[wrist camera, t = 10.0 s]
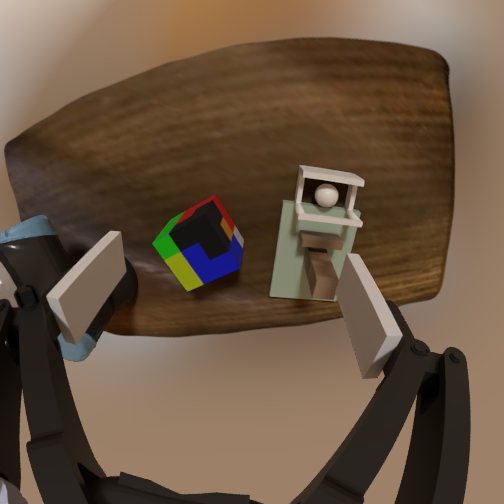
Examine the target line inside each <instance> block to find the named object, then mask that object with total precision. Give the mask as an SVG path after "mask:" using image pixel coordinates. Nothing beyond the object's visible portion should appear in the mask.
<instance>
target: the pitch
mask: <svg viewBox="0 0 504 504" xmlns="http://www.w3.org/2000/svg"><path fill="white" fill-rule="evenodd" d="M305 178H312V179H319V180H326V181H332V182H339V183H345V184H349V186H348V191H347V196H346V201H345V205H344V207H343V208H341V207H334V206H331V207H322V206H320V205H319V204H312V203H304V202H301V199H302V193H303V186H304V180H305ZM364 182H365V181H364V180H363V179H361V178H360V177H359V176H357V175H356V174H353V173H347V172H342V171H336V170H330V169H323V168H317V167H310V166H303V165H299V171H298V178H297V185H296V192H295V199H294V200H293V201H287V200H283V202H282V209H281V216H280V224H279V231H278V238H277V245H276V252H275V258H274V265H273V272H272V278H271V285H270V291H269V296H271V297H283V298H296V299H310V300H325V299H312V296H311V292H310V287H309V283H308V279H307V275H306V271H305V267H304V257H305V252H306V247H303V246H301V242H300V239H299V232H300V230H306V231H315V232H324V233H332V234H338V235H339V237H340V239H341V241H342V242H343V248H342V250H332V249H326V250H327V252H328V255H329V257H330V259H331V262H332V264H333V267H334V269H335V272H336V274H337V276H338V279H339V278H340V275H341V271H342V268H343V264H344V261H345V257H346V253H350V252H351V249H352V245H353V241H354V237H355V234H356V230H357V227H362V225H363V222H362V221H361V220H360V219H359V217H360V212H359V211H358V210H355V209H353V206H354V201H355V197H356V192H357V187H358V186H362V187H364ZM336 299H337V296H336V294H335V297H334V300H326V301H336Z"/></svg>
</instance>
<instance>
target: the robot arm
mask: <svg viewBox="0 0 504 504" xmlns="http://www.w3.org/2000/svg"><path fill="white" fill-rule="evenodd" d="M136 290H137V277H136V274H135V271H134V269H133V267H132V265H131V264H130V263H129V261H128V260H127V259H126V258H125V257H124V252H123V245H122V237H121V232H117V231H110V232H108V233H107V234H106V235H105V236H104V237H103V238H102V239H101V240H100V241H99V242H98V243H97V244H96V245H95V246H93V247H91V248H89V249H88V250H87V251H86V252H85V253H84V254H83V255H82V256H81V257H80V259H79V261H78V262H77V263H76V265H75V266H74V267H73V265H72V263H71V262H70V260H69V258H68V256H67V254H66V252H65V250H64V248H63V246H62V244H61V242H60V240H59V238H58V234H57V232H55V230H54V228H53V226H52V224H51V222H50V220H49V219H48V218H47V217H46V216H44V215H38V216H35V217H32V218H30V219H28V220H26V221H23V222H21V223H19V224H17V225H15V226H13V227H12V228H10V229H9V230H6V231H5V232H2V233H1V234H0V504H28V502H27V501H26V499H25V498H23V497H22V494H21V493H20V483H21V482H20V481H21V468H20V444H19V443H20V442H19V433H20V408H21V395H22V389H23V396H24V403H25V409H26V415H27V421H28V425H29V430H30V435H31V441H29V442H27V445H26V447H27V453H28V457H29V461H30V464H31V468H32V471H33V474H34V477H35V480H36V483H37V486H38V489H39V492H40V494H41V497H42V500H43V502H44V504H262V503H259V502H257V501H254V500H250V499H249V498H250V495H240V494H239V495H238V494H227V493H217V492H216V493H204V494H184V495H183V494H179V493H176V492H174V491H172V490H170V489H167V488H165V487H163V486H161V485H159V484H157V483H154V482H153V481H151V480H148V479H144V478H140V477H136V476H133V475H130V474H127V473H124V472H121V473H120V476H110V477H107V476H106V474H105V473H104V471H103V469H102V468H101V467H100V465H99V464H98V463H97V461H96V459H95V457H94V455H93V452H92V450H91V448H90V445H89V443H88V440H87V438H86V435H85V432H84V430H83V427H82V424H81V421H80V419H79V416H78V412H77V410H76V407H75V403H74V400H73V397H72V393H71V389H70V386H69V382H68V378H67V374H66V370H65V366H64V361H63V359H65V360H69V361H74V362H79V361H83V360H85V359H86V358H87V357H88V356H89V354H90V353H91V351H92V350H93V348H95V347H96V343H97V341H98V339H99V338H100V336H101V334H102V332H103V331H104V329H105V327H106V326H107V324H108V322H109V320H110V319H111V317H112V315H113V314H114V313H115V312H116V311H118V310H119V309H120V308H121V307H123V306H125V305H127V304H128V303H129V302H130V301H131V299H132V298H133V296H134V295H135V293H136ZM335 293H336V296H337V299H338V302H339V305H340V308H341V311H342V314H343V317H344V320H345V323H346V326H347V329H348V332H349V335H350V338H351V342H352V345H353V348H354V351H355V355H356V358H357V361H358V365H359V368H360V372H361V375H362V378H363V379H369V378H378V376H379V374H380V373H381V371H382V370H383V372H384V375H385V377H384V379H383V380H382V382H381V383H380V384H379V386H378V387H377V389H376V392H375V394H374V396H373V397H372V399H371V401H370V402H369V404H368V405H367V407H366V409H365V410H364V412H363V413H362V415H361V416H360V418H359V420H358V421H357V423H356V424H355V426H354V427H353V428H352V430H351V432H350V433H349V434H348V436H347V437H346V438H345V440H344V441H343V443H342V444H341V445H340V447H339V448H338V449H337V451H336V452H335V453H334V455H333V456H332V457H331V459H330V460H329V461H328V462H327V463H326V465H325V466H324V467H323V468H322V470H321V471H320V472H319V473H318V474H317V476H316V477H315V478H314V479H313V480H312V481H311V482H310V484H309V485H308V486H307V487H306V488H305V489H304V490H303V492H301V493H300V494H299V495H298V496H297V497H296V498H295V499H294V500H293V501H292V502H291V503H290V504H363V502H364V497H363V496H364V494H365V492H366V491H367V489H368V488H369V486H370V485H371V483H372V481H373V480H374V478H375V477H376V475H377V473H378V472H379V470H380V468H381V467H382V465H383V463H384V461H385V460H386V458H387V456H388V454H389V452H390V451H391V449H392V447H393V445H394V443H395V441H396V439H397V437H398V435H399V433H400V431H401V429H402V427H403V425H404V423H405V421H406V419H407V416H408V414H409V412H410V410H411V407H412V405H413V402H414V400H415V398H416V395H417V400H416V410H415V417H414V423H413V429H412V435H411V442H410V446H409V451H408V456H407V460H406V465H405V469H404V473H403V477H402V480H401V484H400V488H399V491H398V494H397V498H396V501H395V504H463V500H464V494H465V489H466V482H467V474H468V465H469V452H470V394H469V380H468V369H467V361H466V358H465V355H464V354H463V353H462V352H461V351H460V350H459V349H457V348H454V347H449V348H447V349H446V350H445V351H444V353H443V354H438V353H434V352H430V349H429V347H428V346H427V345H426V344H425V343H424V342H422V341H420V340H417V339H415V338H414V336H413V334H412V332H411V331H410V329H409V327H408V325H407V323H406V321H404V317H403V316H402V315H401V312H400V310H399V308H398V307H397V306H396V305H395V304H394V303H393V302H392V301H391V300H384V298H383V296H382V294H381V293H380V291H379V289H378V287H377V285H376V283H375V282H374V280H373V278H372V276H371V275H370V273H369V271H368V269H367V268H366V266H365V264H364V263H363V261H362V259H361V258H360V256H359V254H350V253H346V257H345V261H344V264H343V268H342V271H341V275H340V278H339V282H338V285H337V288H336V291H335ZM5 341H6V344H5Z"/></svg>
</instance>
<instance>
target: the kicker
mask: <svg viewBox="0 0 504 504" xmlns="http://www.w3.org/2000/svg"><path fill="white" fill-rule="evenodd" d="M299 239H300V242H301V246H303V247H306V252H305V257H304V267H305V271H306V275H307V279H308V283H309V287H310V292H311V296H312V299H325V300H334V297H335V294H336V293H335V291H336V288H337V285H338V282H339V279H338V276H337V274H336V272H335V269H334V267H333V264H332V262H331V259H330V257H329V255H328V252H327V250H326V249H332V250H342V248H343V242H342V241H341V239H340V237H339V235H338V234H332V233H324V232H315V231H306V230H300V232H299Z"/></svg>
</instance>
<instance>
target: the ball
mask: <svg viewBox="0 0 504 504" xmlns="http://www.w3.org/2000/svg"><path fill="white" fill-rule="evenodd" d="M315 199H316V201H317V203H318V204H319V205H320V206H322V207H331V206H333V205H334V204H335V203H336V202H337V200H338V191H337V189H336V188H335V187H334V186H333V185H331V184H322V185H320V186H319V187H318V188H317V189H316V191H315Z"/></svg>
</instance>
